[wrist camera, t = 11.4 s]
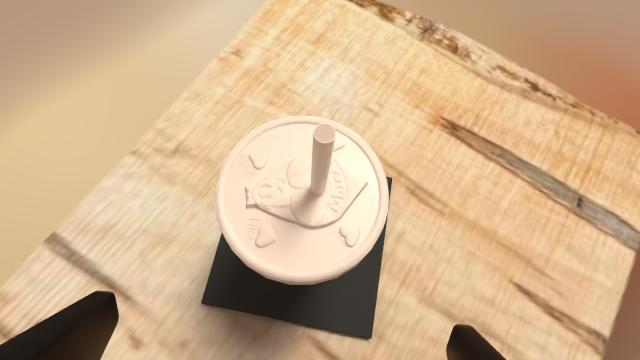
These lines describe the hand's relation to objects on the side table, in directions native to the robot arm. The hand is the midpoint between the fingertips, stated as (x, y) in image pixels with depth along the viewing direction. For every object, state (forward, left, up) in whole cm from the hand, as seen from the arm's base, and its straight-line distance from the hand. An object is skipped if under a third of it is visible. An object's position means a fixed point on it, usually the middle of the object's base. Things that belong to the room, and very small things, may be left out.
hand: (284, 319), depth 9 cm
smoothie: (+4, 0, -12) cm, 13 cm away
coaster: (+4, 0, -12) cm, 13 cm away
